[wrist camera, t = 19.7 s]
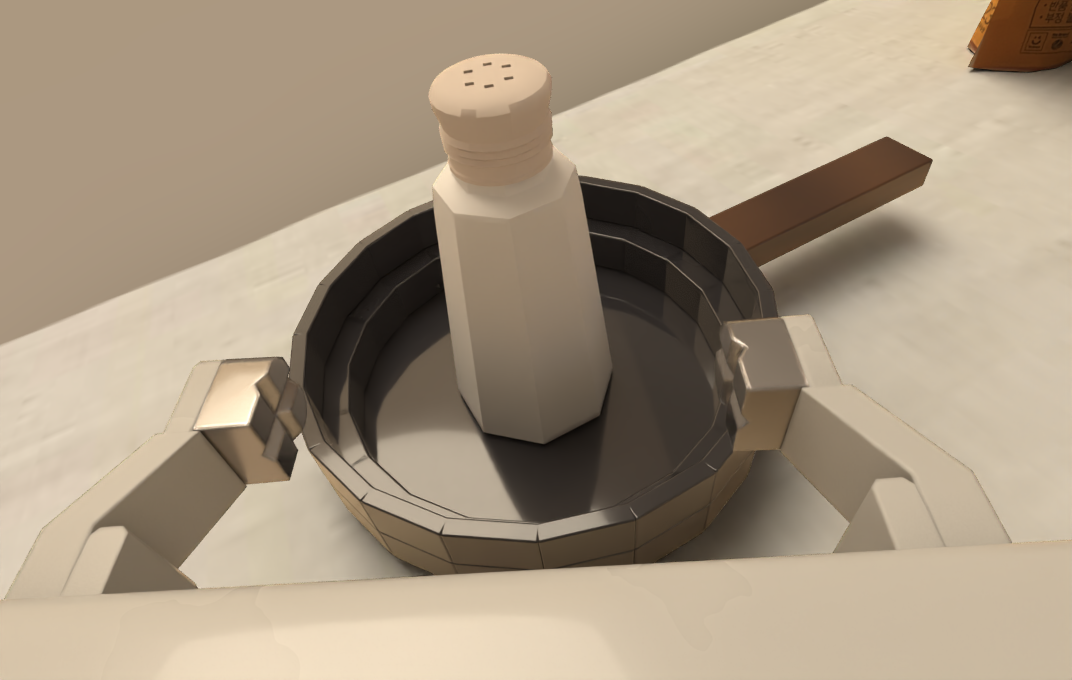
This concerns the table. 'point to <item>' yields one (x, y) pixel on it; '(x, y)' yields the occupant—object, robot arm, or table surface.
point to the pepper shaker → (516, 254)
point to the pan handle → (824, 199)
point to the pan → (517, 465)
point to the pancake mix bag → (1023, 35)
